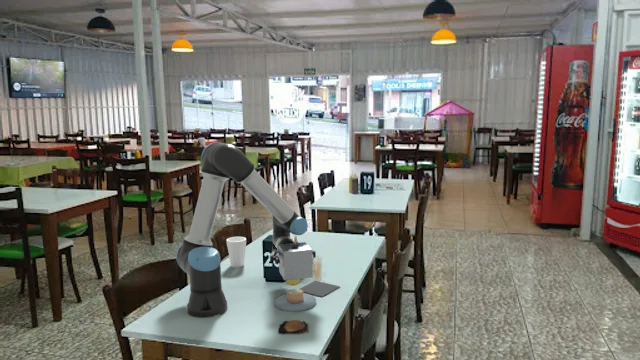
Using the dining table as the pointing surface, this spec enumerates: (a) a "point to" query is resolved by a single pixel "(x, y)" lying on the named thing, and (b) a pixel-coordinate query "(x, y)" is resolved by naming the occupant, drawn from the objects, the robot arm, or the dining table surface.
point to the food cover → (296, 261)
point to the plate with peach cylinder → (295, 301)
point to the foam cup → (236, 250)
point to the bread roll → (293, 327)
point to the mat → (319, 288)
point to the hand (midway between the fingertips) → (297, 262)
